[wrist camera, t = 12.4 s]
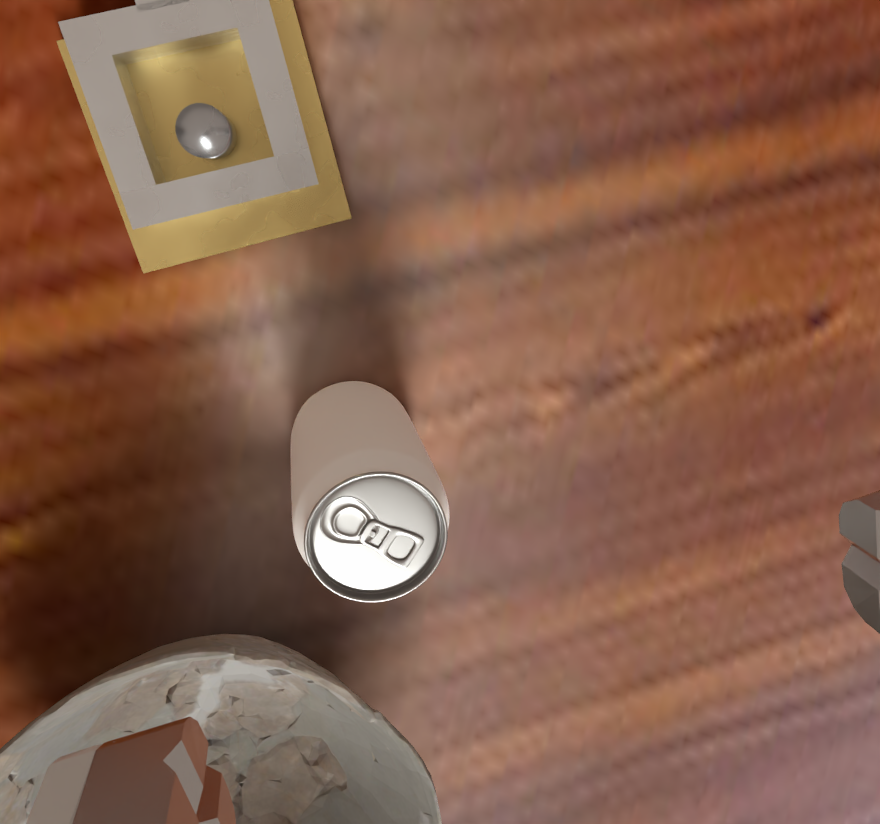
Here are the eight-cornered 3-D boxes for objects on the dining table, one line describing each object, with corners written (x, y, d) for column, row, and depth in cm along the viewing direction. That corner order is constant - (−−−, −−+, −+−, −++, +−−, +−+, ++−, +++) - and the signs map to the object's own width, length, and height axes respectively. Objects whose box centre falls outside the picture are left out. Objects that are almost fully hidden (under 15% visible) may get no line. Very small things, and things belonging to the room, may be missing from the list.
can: (329, 356, 39) (346, 432, 28) (433, 414, 41) (489, 506, 30) (267, 459, 40) (260, 573, 29) (372, 511, 42) (404, 635, 31)
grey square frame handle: (21, -124, 30) (-6, -154, 27) (222, -163, 31) (216, -195, 28) (145, 224, 35) (132, 229, 32) (316, 182, 36) (318, 184, 33)
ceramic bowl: (375, 509, 42) (400, 606, 33) (435, 822, 50) (470, 973, 41) (-47, 601, 39) (-149, 737, 30) (86, 919, 47) (36, 1106, 38)
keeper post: (288, -8, 34) (289, -42, 28) (350, 217, 37) (361, 226, 32) (62, 44, 33) (17, 19, 27) (146, 270, 36) (121, 289, 31)
